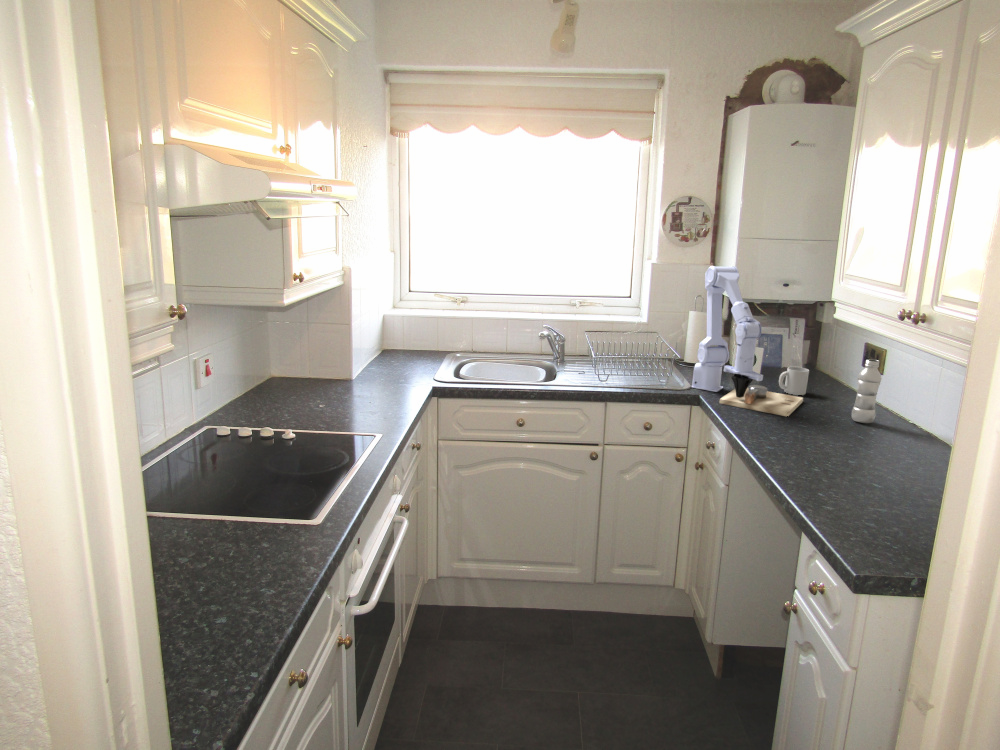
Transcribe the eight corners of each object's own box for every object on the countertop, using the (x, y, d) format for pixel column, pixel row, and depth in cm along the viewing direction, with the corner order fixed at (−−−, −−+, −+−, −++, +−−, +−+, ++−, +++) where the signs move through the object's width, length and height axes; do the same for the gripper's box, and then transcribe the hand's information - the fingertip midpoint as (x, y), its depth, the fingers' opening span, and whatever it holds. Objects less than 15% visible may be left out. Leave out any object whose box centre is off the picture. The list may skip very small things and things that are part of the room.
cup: (809, 396, 244) (812, 371, 242) (781, 395, 244) (784, 370, 242) (800, 390, 251) (803, 367, 249) (773, 389, 251) (776, 366, 249)
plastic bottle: (876, 426, 212) (888, 363, 207) (853, 424, 213) (864, 361, 208) (870, 420, 218) (881, 359, 213) (847, 418, 219) (857, 357, 214)
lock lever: (750, 392, 239) (751, 384, 238) (768, 395, 235) (769, 387, 235) (737, 401, 227) (739, 392, 226) (756, 405, 223) (757, 396, 223)
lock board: (719, 403, 230) (719, 398, 230) (738, 390, 248) (738, 386, 248) (787, 416, 218) (788, 412, 218) (802, 401, 236) (803, 397, 236)
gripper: (719, 353, 231) (714, 392, 234) (754, 363, 219) (749, 403, 222) (733, 352, 234) (728, 390, 238) (769, 361, 222) (763, 401, 226)
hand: (739, 396), depth 230 cm, fingers closed
